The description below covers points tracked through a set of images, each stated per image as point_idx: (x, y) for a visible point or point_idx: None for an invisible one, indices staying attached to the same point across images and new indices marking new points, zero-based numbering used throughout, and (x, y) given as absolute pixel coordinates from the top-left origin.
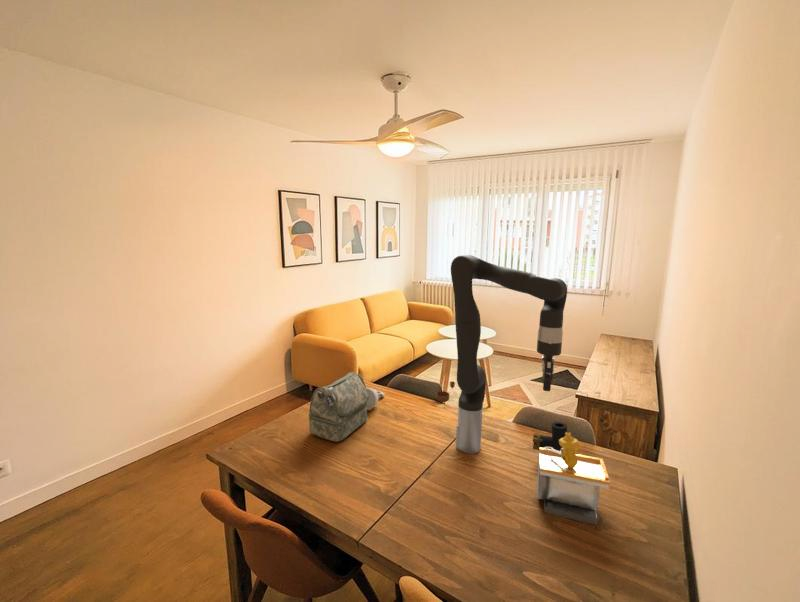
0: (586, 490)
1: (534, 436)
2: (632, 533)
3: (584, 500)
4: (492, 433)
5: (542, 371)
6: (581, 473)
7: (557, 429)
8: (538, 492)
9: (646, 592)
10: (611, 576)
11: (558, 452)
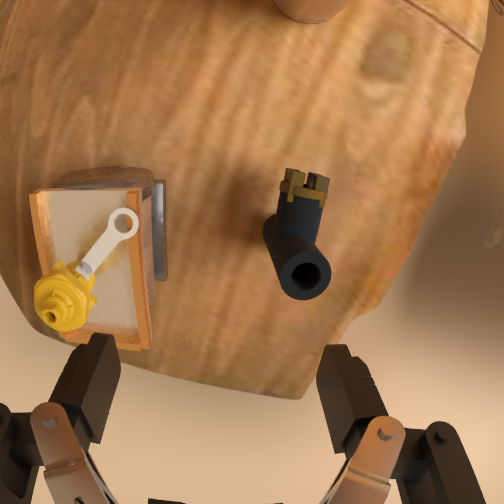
0: None
1: (316, 179)
2: None
3: None
4: (401, 68)
5: (57, 469)
6: None
7: (281, 266)
8: (68, 175)
9: (15, 297)
10: (13, 265)
11: (94, 253)
